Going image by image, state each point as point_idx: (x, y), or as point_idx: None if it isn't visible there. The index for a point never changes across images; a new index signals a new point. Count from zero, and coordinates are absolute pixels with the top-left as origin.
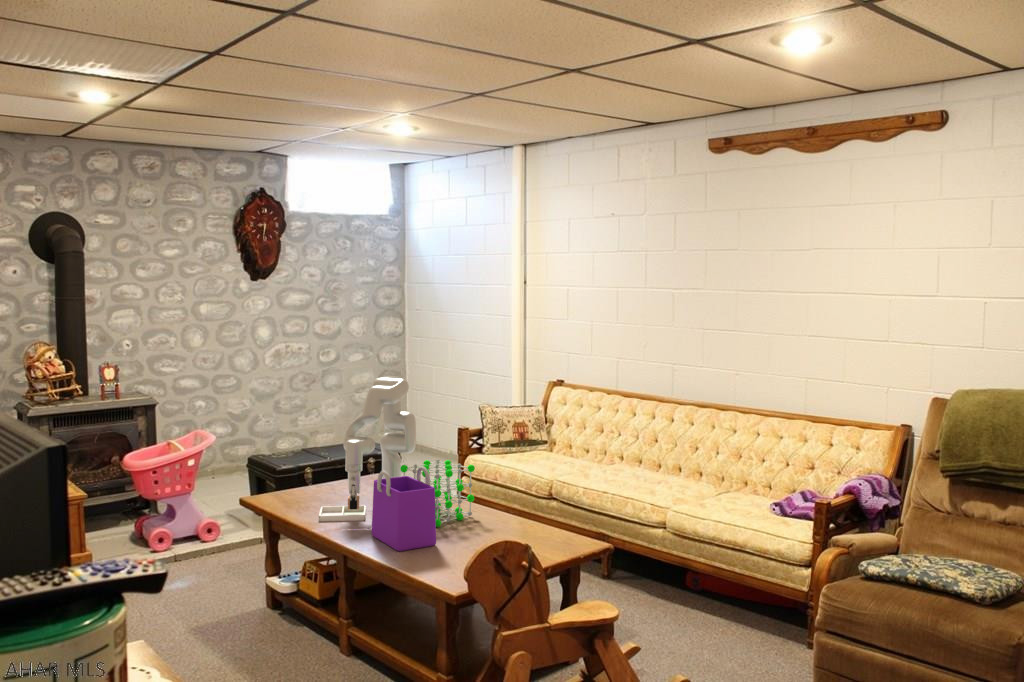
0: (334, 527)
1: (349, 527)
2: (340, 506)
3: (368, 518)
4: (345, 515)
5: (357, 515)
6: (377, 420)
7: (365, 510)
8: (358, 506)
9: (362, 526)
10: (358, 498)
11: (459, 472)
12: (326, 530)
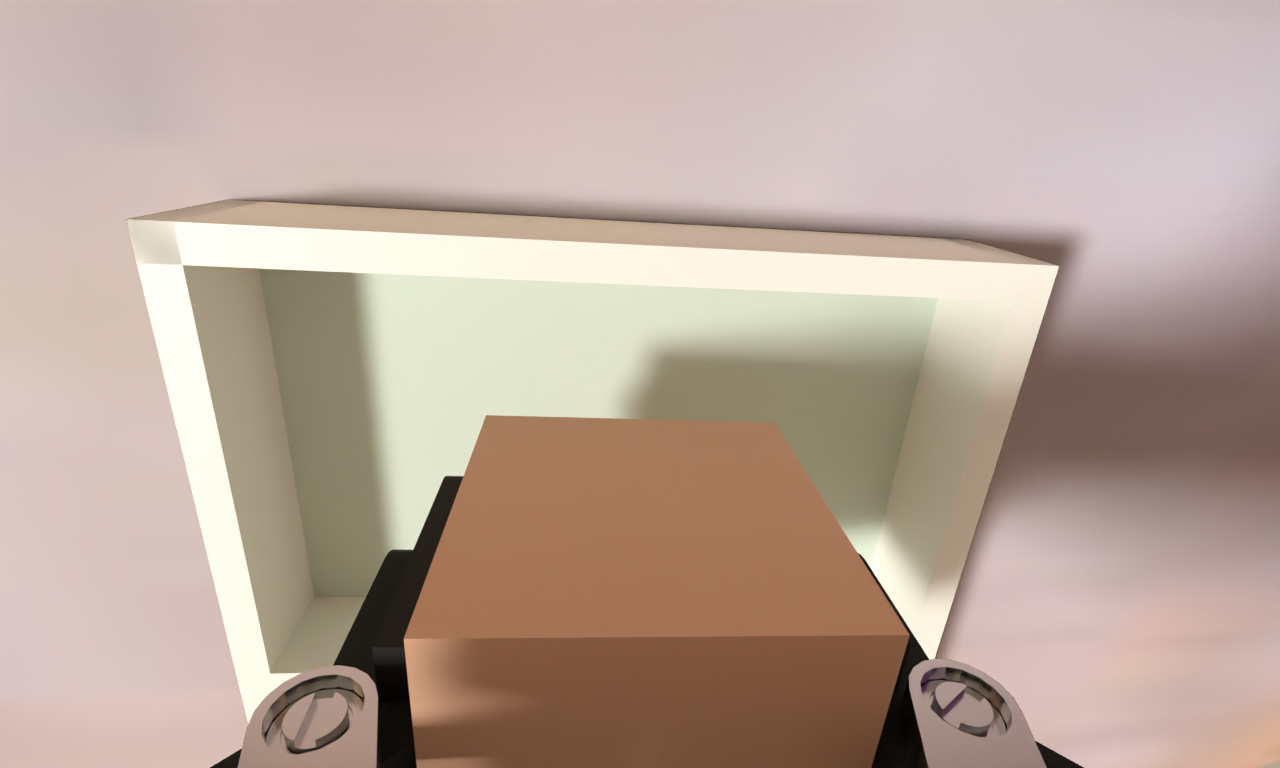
0: (1095, 656)
1: (1189, 485)
2: None
3: (759, 161)
4: (944, 622)
5: (1002, 423)
6: None
7: (655, 245)
8: (796, 473)
9: (1238, 294)
10: (900, 651)
11: None
12: (1177, 722)
